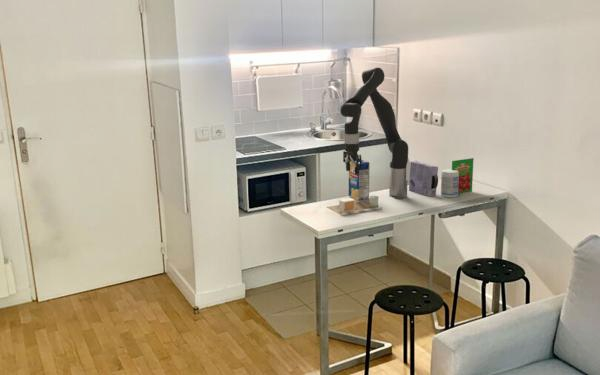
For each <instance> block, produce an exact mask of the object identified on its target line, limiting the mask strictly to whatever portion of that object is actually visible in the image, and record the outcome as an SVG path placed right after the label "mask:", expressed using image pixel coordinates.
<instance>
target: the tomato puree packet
mask: <svg viewBox="0 0 600 375" xmlns="http://www.w3.org/2000/svg"><path fill="white" fill-rule="evenodd" d="M451 169H452V170H458V171H459V181H458V195H461V194H466V193H472V192H473V176H474V157H472V158H471V157H470V158H464V159H457V160H451Z"/></svg>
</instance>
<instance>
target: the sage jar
mask: <svg viewBox="0 0 600 375" xmlns="http://www.w3.org/2000/svg"><path fill="white" fill-rule="evenodd" d="M369 203H370V208H376V207H379V196H378V195H369Z"/></svg>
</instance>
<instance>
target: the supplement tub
mask: <svg viewBox="0 0 600 375" xmlns="http://www.w3.org/2000/svg"><path fill="white" fill-rule="evenodd" d="M440 180H441V183H440V195H441V197H444V198H447V199H448V198H456V197H458V196H459V194H458V181H459V171H458V170H452V168H446V169H442V170H441V179H440Z"/></svg>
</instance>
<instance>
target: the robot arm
mask: <svg viewBox="0 0 600 375" xmlns="http://www.w3.org/2000/svg"><path fill="white" fill-rule="evenodd" d="M361 81H362V83H363V85H361V86H360V87H359V88H357V89H356V91H355V92H354V93H353V94H352V96H351V97H350V98H348V99H347V100H345V101H344V102H343V103H342V105H341V107H340V115H341V116H343V117H345V118H352V119H351V120H350V121H349V120H348V121H346V122H345V123H344V137H343V138H344V151H343V152H342V153H343V155H342V160H343V163H344V164H345V170H346V172H349V171H350V164H349V163H350V162H352V163H353V164H354V166H355V174H359V167H360V166H362V161H361V160H362V154H358V152H359V151H360V135H359V124H360V119H361V116H362V115H361V114H362V106H363V105H364V104H365V102H366V101H367V100H368V98H370V101H371V103H372V105H373V107H374V110H375V111H374V112H375V114H376V116H377V119H378V120H379V123H380V126H381V128H382V131H383V133H384V135H385V139H386V143H387V147H388V150H389V151H390V153H391V154H392V156H391V161H390V162H389V191H388V192H389V194H388V196H389V197H390V198H392V199H395V200H396V199H397V200H398V199H404V198H406V197H407V198H408V184H409V181H408V179H407V166H408V161H409V144H408V143H407V141H405V140H403V139H402V137H401V136H400V134H399V131H398V128H397V121H396V114H395V111H394V108H393V106H392V104H391V103H390V101H388V99H386V98H385V97H384V96H383V95H382V94H381V93H380V92H379V91H378V89H377V88H378V87H379V86H380V85H381V84H383V82H384V81H385V72H384V70H383V68H381V67H379V66H378V67H372V68H368V69H365V70H363V71H362V73H361ZM359 162H360V164H359Z"/></svg>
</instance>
